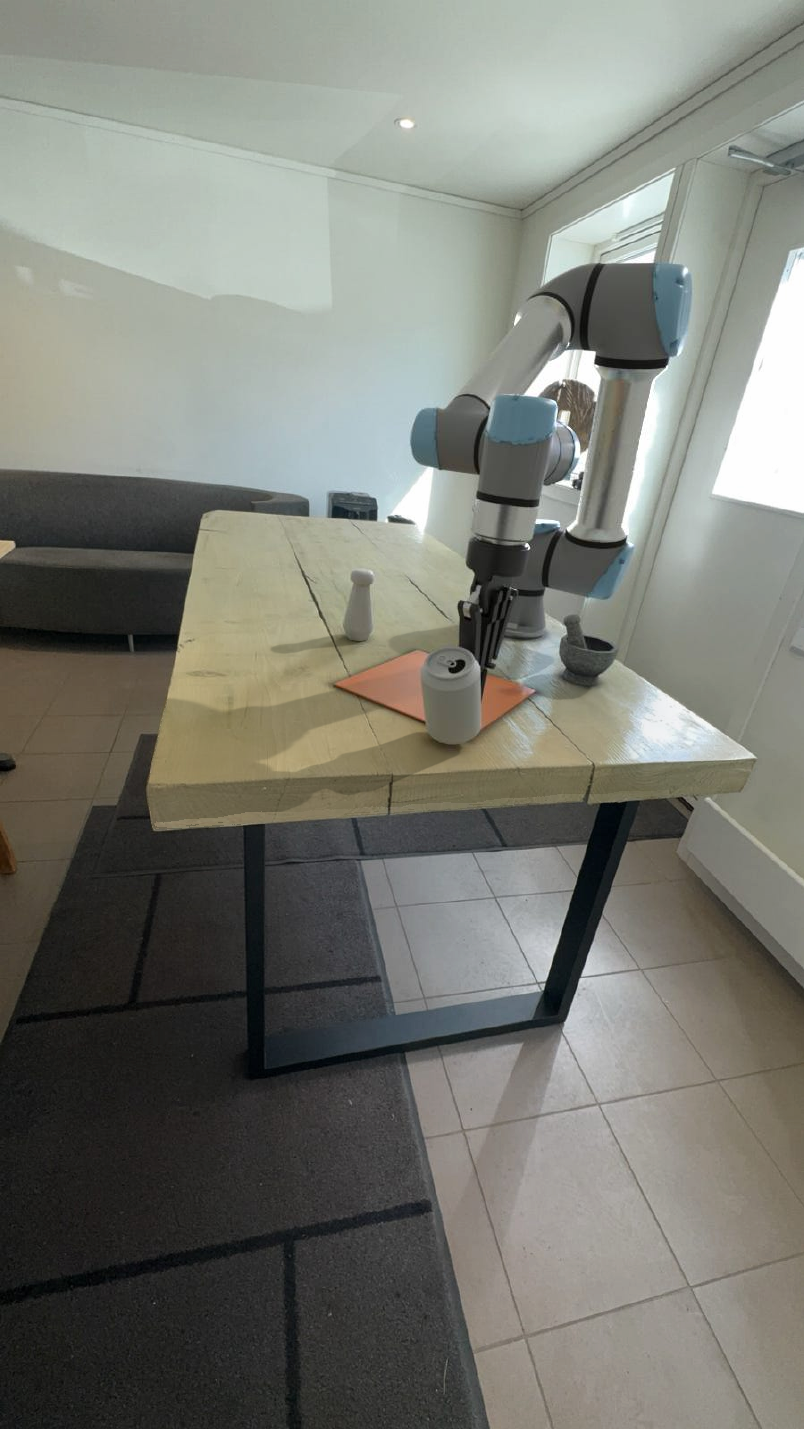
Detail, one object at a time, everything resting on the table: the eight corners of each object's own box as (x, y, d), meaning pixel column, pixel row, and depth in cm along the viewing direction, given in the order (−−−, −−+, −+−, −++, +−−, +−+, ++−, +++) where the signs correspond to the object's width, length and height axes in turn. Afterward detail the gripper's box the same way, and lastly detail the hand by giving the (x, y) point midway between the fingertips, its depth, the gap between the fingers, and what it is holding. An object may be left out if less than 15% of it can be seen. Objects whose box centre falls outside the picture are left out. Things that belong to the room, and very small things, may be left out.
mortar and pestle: (587, 668, 112) (603, 607, 107) (618, 688, 105) (637, 623, 99) (536, 669, 109) (551, 606, 103) (565, 690, 101) (582, 623, 96)
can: (466, 756, 76) (462, 687, 68) (416, 738, 79) (407, 670, 71) (491, 719, 80) (490, 650, 72) (442, 703, 84) (437, 635, 75)
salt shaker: (368, 644, 110) (375, 575, 104) (339, 639, 110) (344, 570, 105) (374, 635, 115) (381, 569, 110) (345, 630, 116) (351, 564, 110)
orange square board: (417, 651, 110) (417, 649, 110) (535, 691, 99) (536, 690, 99) (333, 685, 92) (333, 683, 91) (467, 740, 80) (467, 738, 80)
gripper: (495, 528, 78) (467, 689, 89) (448, 537, 69) (422, 715, 79) (548, 540, 75) (512, 705, 85) (505, 550, 65) (471, 735, 76)
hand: (469, 710), depth 82 cm, fingers closed
